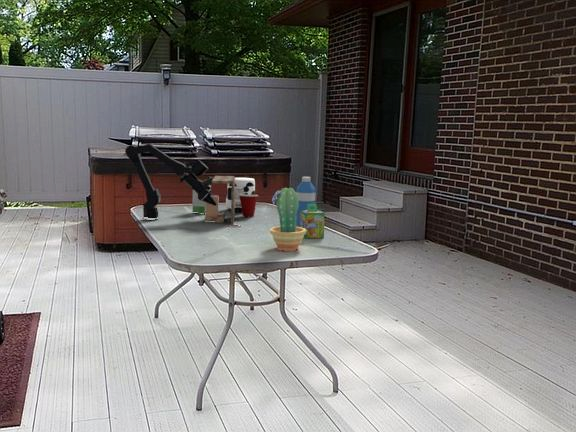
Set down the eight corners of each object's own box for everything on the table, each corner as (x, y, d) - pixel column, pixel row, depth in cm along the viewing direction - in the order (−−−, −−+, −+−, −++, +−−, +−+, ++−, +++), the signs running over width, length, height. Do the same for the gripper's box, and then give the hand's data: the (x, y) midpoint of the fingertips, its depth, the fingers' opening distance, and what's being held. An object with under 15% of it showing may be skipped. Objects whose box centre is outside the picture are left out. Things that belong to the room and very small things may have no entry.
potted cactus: (285, 242, 252) (286, 184, 248) (313, 248, 243) (315, 188, 238) (261, 248, 240) (261, 187, 236) (290, 254, 231) (291, 191, 227)
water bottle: (313, 230, 280) (314, 178, 275) (293, 229, 281) (294, 177, 277) (316, 227, 289) (317, 176, 284) (297, 226, 290) (298, 175, 286)
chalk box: (305, 238, 261) (305, 206, 258) (299, 234, 270) (299, 202, 267) (324, 238, 263) (325, 205, 261) (318, 234, 272) (319, 202, 270)
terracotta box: (205, 220, 299) (206, 196, 297) (206, 218, 304) (207, 194, 302) (217, 221, 299) (218, 197, 297) (217, 219, 305) (218, 195, 303)
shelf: (203, 224, 290) (203, 180, 286) (207, 216, 313) (207, 175, 310) (233, 224, 291) (233, 181, 287) (234, 216, 314) (234, 176, 311)
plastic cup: (259, 215, 320) (260, 193, 318) (256, 218, 310) (257, 195, 308) (240, 214, 321) (240, 192, 319) (236, 217, 311) (236, 195, 309)
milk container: (246, 207, 347) (246, 176, 344) (261, 211, 333) (262, 179, 330) (220, 209, 337) (220, 178, 334) (235, 213, 323) (235, 181, 320)
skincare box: (192, 213, 321) (191, 185, 318) (197, 211, 327) (197, 184, 324) (206, 214, 318) (205, 186, 316) (211, 212, 324) (211, 184, 322)
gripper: (204, 173, 288) (226, 195, 291) (206, 169, 306) (228, 190, 309) (188, 189, 289) (210, 211, 291) (191, 184, 307) (213, 205, 310)
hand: (216, 204), depth 300 cm, fingers closed on terracotta box, 5 cm apart
